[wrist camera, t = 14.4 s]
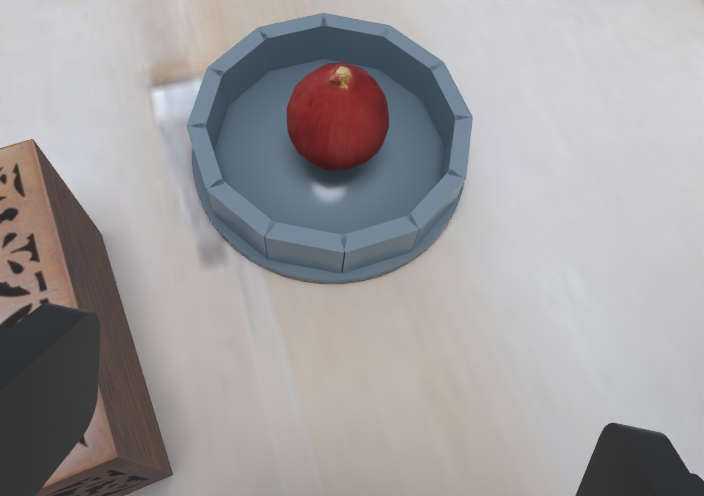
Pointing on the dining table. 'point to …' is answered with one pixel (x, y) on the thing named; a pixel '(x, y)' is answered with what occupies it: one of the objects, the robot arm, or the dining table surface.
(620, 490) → the robot arm
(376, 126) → the onion
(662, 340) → the dining table surface
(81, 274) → the tissue box cover
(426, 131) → the bowl
